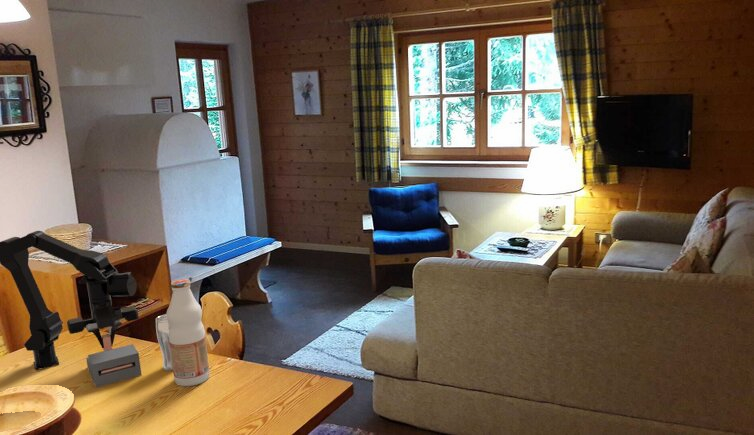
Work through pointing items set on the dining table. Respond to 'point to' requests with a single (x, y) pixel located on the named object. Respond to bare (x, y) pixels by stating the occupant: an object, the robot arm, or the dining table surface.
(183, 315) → the fruit juice
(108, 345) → the pink t-shaped block
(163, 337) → the beer glass
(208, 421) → the dining table surface
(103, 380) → the grey slotted box
